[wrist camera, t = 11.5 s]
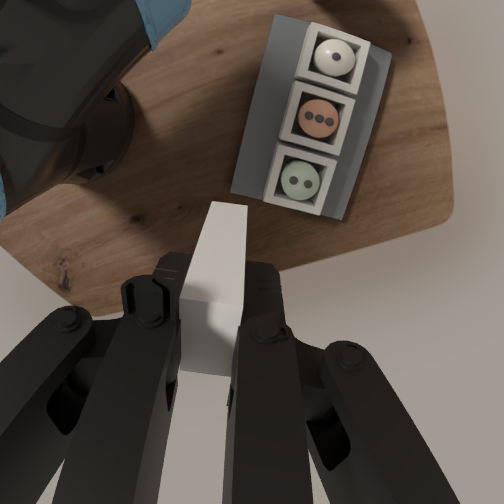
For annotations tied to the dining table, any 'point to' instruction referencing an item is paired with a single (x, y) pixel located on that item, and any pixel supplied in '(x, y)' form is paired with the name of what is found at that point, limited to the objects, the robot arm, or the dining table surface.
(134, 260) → the dining table surface
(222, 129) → the dining table surface
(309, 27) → the button board
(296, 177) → the button two
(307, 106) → the button three
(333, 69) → the button one
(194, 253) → the robot arm
